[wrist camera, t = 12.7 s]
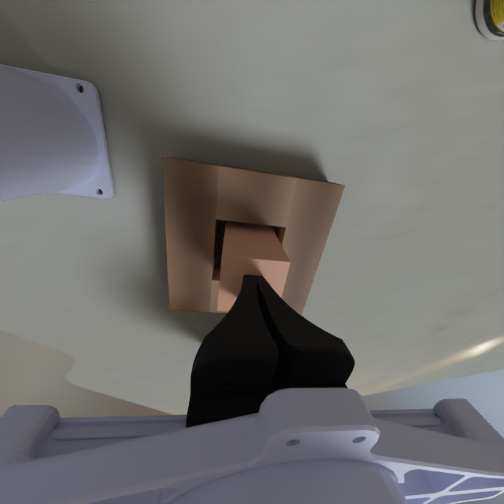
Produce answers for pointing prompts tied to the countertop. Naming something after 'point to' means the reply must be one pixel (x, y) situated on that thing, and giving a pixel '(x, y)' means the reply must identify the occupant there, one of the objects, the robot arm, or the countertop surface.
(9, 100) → the robot arm
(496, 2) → the supplement bottle
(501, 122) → the countertop surface
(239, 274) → the terracotta peg
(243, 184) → the walnut socket block
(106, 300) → the countertop surface
